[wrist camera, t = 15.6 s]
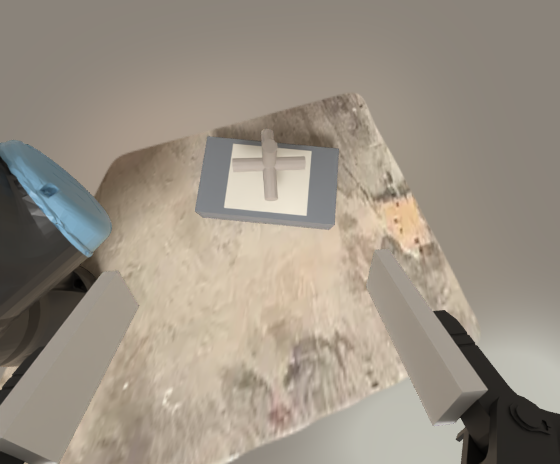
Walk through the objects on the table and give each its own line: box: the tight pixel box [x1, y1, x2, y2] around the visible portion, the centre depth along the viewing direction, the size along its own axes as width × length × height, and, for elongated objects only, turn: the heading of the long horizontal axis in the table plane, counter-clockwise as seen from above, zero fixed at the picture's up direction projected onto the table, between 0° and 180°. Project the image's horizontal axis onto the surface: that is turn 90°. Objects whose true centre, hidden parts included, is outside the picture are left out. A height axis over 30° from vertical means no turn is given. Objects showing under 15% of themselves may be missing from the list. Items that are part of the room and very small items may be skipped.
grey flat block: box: [195, 136, 339, 230], centre depth 41 cm, size 22×13×4 cm, turn 84°
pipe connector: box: [232, 128, 306, 201], centre depth 34 cm, size 10×10×10 cm
